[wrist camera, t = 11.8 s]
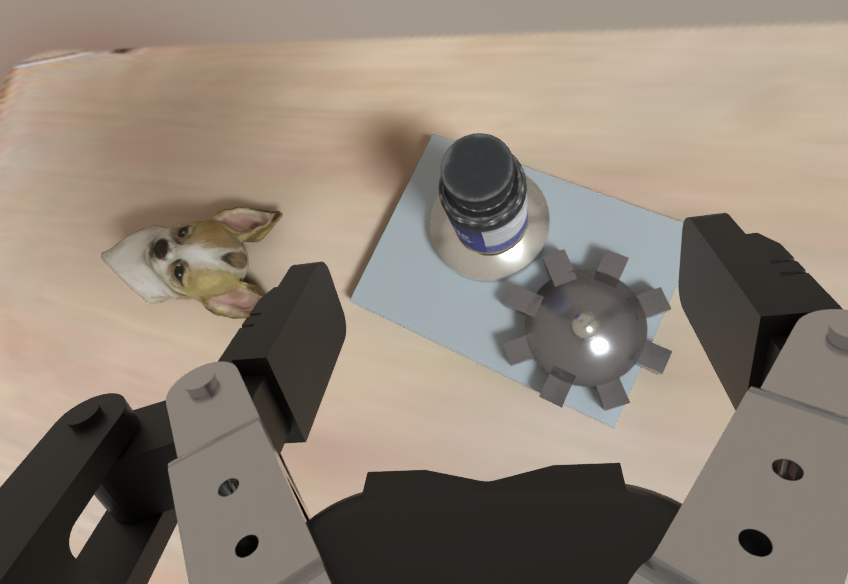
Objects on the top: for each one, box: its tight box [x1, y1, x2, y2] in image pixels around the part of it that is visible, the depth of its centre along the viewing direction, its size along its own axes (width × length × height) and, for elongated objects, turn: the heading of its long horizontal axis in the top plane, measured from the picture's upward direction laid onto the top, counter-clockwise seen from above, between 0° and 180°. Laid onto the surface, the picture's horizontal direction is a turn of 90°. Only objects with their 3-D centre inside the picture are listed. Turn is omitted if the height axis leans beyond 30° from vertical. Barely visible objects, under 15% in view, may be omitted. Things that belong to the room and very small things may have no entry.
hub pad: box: [430, 175, 550, 282], centre depth 44 cm, size 10×10×1 cm
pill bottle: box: [438, 133, 528, 256], centre depth 38 cm, size 6×6×11 cm
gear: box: [503, 249, 672, 411], centre depth 40 cm, size 13×13×3 cm
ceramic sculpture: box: [101, 207, 283, 319], centre depth 48 cm, size 11×9×15 cm
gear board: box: [350, 134, 683, 428], centre depth 44 cm, size 24×17×2 cm
